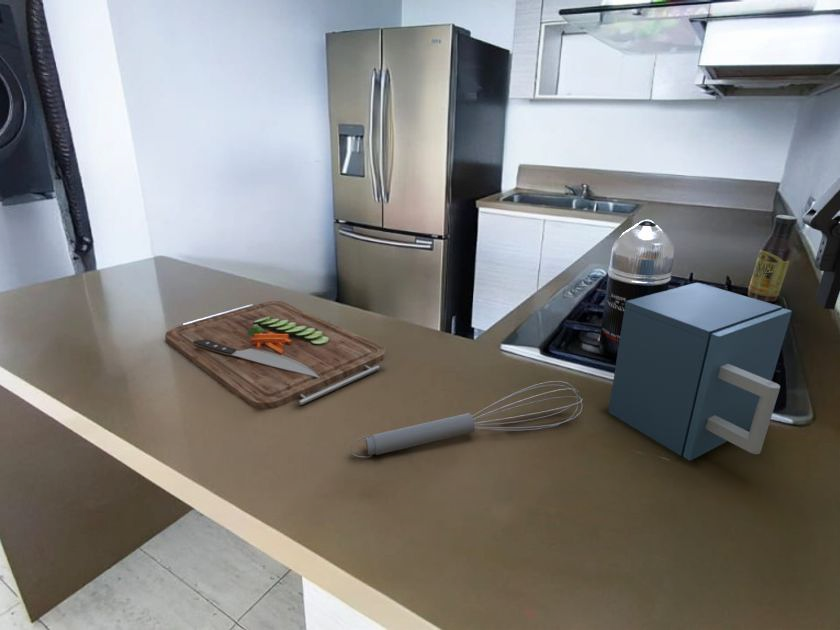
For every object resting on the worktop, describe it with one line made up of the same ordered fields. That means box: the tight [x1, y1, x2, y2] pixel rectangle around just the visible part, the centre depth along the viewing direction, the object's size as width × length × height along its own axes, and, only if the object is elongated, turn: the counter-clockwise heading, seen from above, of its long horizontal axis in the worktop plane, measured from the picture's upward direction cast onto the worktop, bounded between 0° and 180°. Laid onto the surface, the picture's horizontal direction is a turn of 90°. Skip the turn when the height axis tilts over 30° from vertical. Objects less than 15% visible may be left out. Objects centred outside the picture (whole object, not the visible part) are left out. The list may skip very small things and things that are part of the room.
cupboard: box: [608, 281, 783, 457], centre depth 71 cm, size 12×16×18 cm
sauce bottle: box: [747, 214, 798, 303], centre depth 117 cm, size 7×6×20 cm
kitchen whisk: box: [350, 380, 584, 458], centre depth 69 cm, size 6×34×6 cm, turn 106°
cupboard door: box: [682, 308, 793, 461], centre depth 63 cm, size 7×16×18 cm, turn 120°
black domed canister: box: [598, 219, 676, 361], centre depth 90 cm, size 10×10×25 cm
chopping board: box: [164, 300, 386, 410], centre depth 97 cm, size 45×27×3 cm, turn 46°
